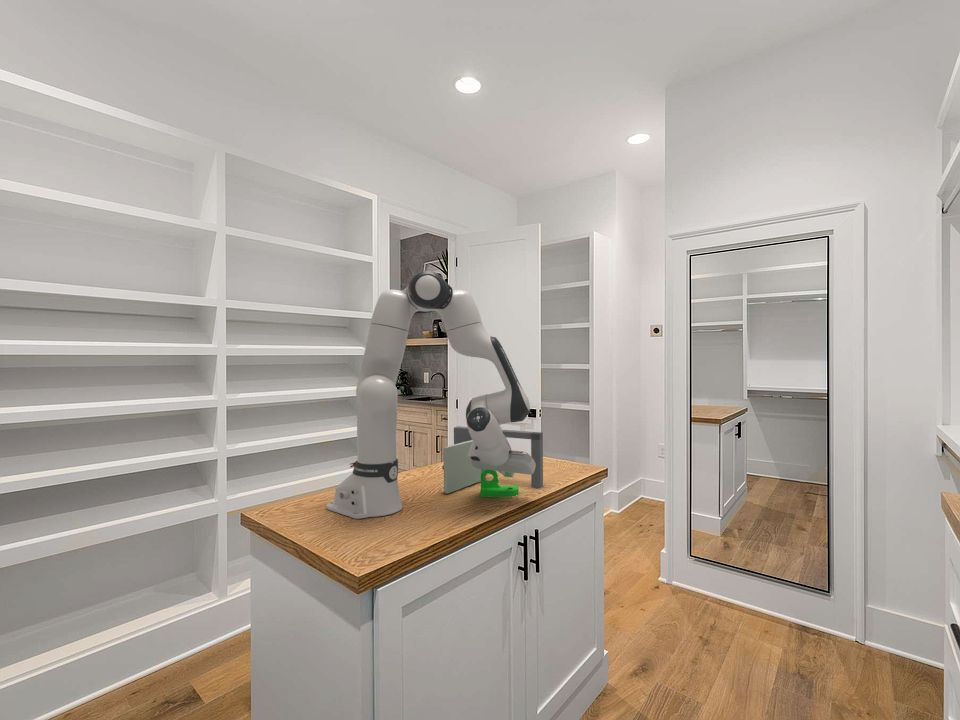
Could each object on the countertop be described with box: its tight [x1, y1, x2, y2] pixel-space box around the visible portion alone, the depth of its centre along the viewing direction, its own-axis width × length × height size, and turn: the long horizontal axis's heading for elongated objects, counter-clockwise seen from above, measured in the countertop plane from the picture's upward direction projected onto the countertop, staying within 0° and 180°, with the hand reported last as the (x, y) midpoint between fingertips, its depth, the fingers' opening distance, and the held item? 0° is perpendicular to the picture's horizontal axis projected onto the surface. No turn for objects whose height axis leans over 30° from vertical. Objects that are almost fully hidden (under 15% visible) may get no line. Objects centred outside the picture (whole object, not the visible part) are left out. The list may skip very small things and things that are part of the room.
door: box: [442, 440, 481, 495], centre depth 159 cm, size 18×3×14 cm, turn 143°
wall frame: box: [453, 426, 544, 489], centre depth 166 cm, size 32×3×18 cm, turn 63°
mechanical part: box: [480, 469, 520, 498], centre depth 152 cm, size 12×6×8 cm, turn 89°
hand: (509, 475), depth 151 cm, fingers closed
